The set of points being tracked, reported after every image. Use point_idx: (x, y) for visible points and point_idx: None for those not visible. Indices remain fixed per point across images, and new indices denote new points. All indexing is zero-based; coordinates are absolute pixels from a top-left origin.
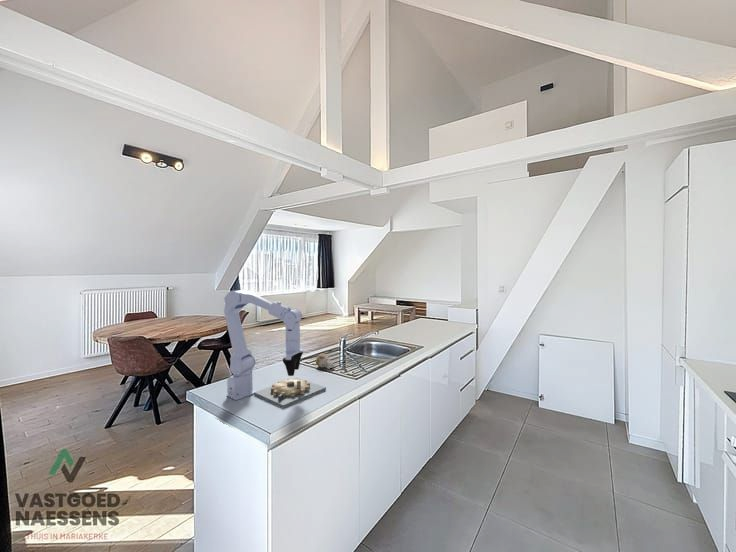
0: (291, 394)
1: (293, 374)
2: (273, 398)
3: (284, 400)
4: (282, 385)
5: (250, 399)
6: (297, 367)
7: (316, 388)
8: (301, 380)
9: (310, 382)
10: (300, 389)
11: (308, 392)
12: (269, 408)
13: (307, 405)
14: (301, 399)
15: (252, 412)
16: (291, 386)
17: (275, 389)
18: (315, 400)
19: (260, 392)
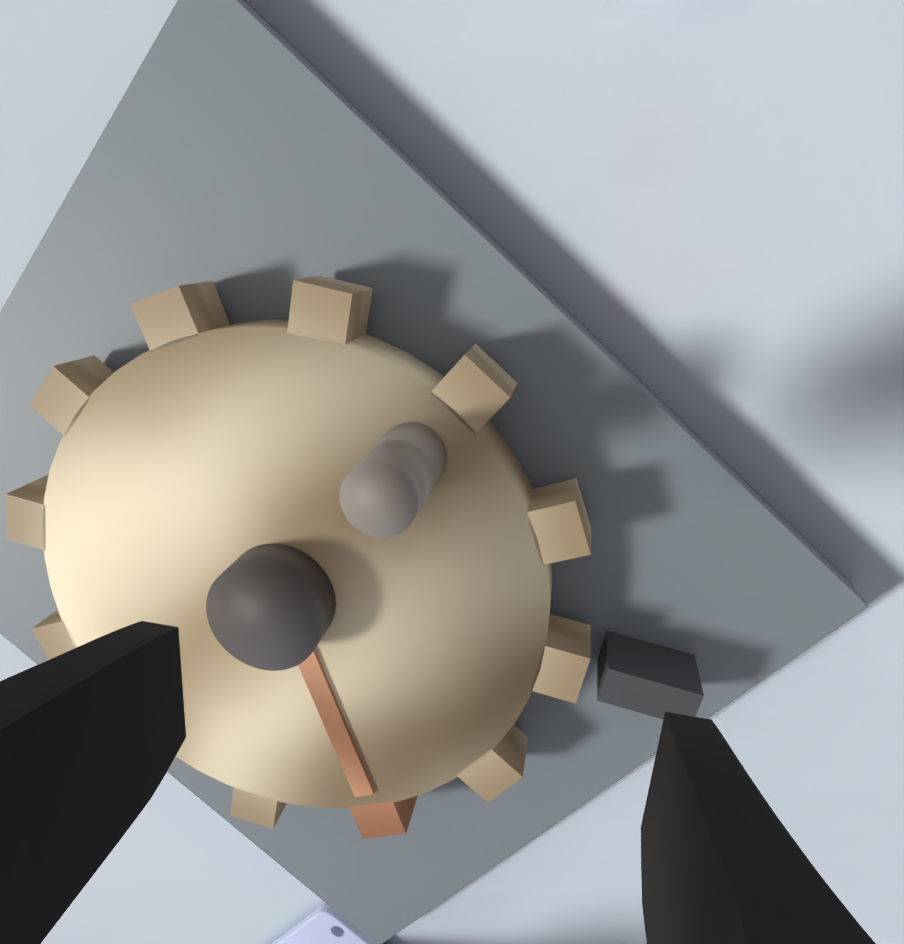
0: (588, 540)
1: (726, 743)
2: (591, 745)
3: (688, 606)
4: (283, 705)
5: (497, 939)
6: (144, 677)
7: (253, 154)
8: (71, 451)
9: (15, 301)
10: (460, 421)
11: (421, 277)
12: (804, 741)
13: (832, 235)
14: (620, 363)
15: (874, 896)
16: (328, 579)
17: (431, 779)
18: (649, 119)
19: (382, 891)
